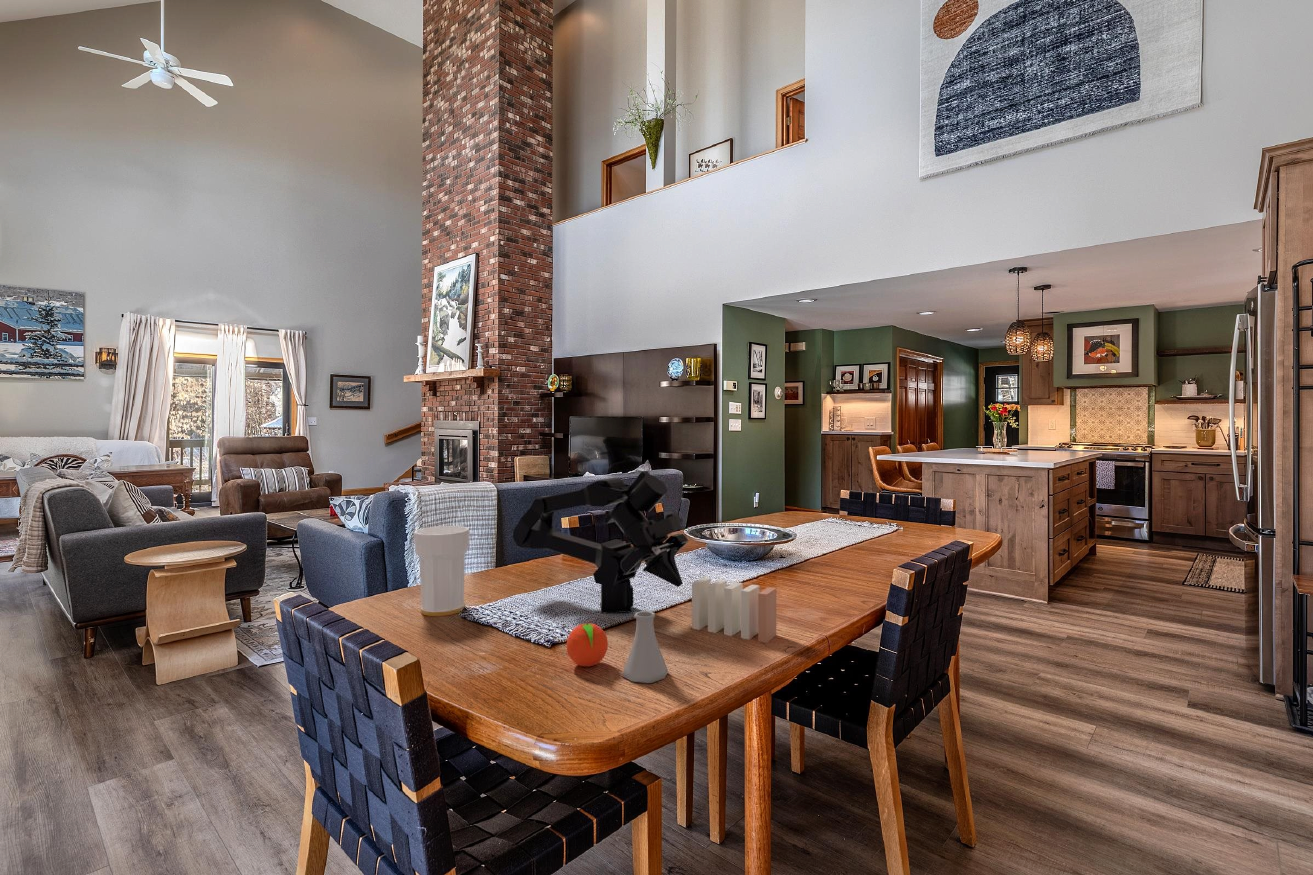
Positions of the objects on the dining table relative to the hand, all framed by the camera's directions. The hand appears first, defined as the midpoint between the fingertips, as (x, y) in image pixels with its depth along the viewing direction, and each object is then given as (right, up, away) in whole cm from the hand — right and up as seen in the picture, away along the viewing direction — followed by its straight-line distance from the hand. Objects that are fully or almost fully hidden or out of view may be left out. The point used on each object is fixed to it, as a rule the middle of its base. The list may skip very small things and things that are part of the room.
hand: (680, 585), depth 129 cm
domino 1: (+4, -7, -2) cm, 9 cm away
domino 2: (+7, -8, -4) cm, 11 cm away
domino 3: (+10, -8, -6) cm, 14 cm away
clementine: (-16, -8, -23) cm, 29 cm away
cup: (-51, -7, +8) cm, 52 cm away
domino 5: (+16, -8, -10) cm, 20 cm away
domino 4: (+13, -8, -8) cm, 17 cm away
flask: (-7, -9, -27) cm, 29 cm away
